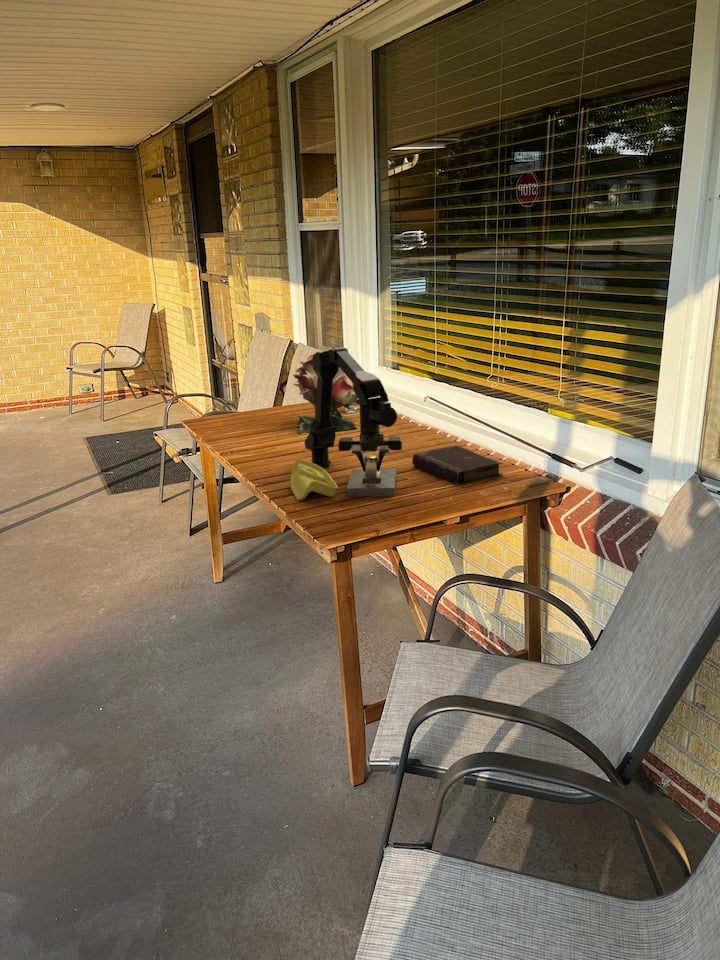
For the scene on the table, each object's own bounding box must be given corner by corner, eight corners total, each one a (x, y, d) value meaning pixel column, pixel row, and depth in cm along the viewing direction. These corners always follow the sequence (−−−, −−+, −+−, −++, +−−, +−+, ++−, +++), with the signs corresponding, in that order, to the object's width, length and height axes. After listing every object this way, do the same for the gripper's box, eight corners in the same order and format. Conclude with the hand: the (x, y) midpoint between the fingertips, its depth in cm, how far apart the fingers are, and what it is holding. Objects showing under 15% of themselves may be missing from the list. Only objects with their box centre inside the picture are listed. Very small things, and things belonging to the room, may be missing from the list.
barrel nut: (365, 474, 221) (364, 455, 219) (378, 474, 221) (378, 455, 219) (364, 478, 217) (363, 459, 216) (377, 478, 217) (377, 458, 215)
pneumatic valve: (364, 412, 323) (363, 386, 319) (338, 414, 320) (337, 388, 317) (362, 410, 328) (361, 384, 324) (336, 412, 326) (335, 385, 322)
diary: (456, 487, 220) (456, 471, 218) (412, 467, 241) (411, 453, 239) (505, 476, 228) (505, 461, 227) (458, 458, 249) (458, 444, 248)
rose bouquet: (370, 428, 295) (367, 354, 286) (300, 436, 286) (296, 360, 277) (349, 415, 318) (346, 346, 309) (284, 423, 309) (279, 352, 300)
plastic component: (340, 489, 214) (309, 479, 209) (329, 512, 215) (298, 502, 211) (322, 466, 232) (293, 456, 227) (313, 487, 233) (284, 477, 229)
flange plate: (352, 476, 233) (352, 468, 232) (396, 475, 232) (396, 467, 231) (346, 496, 214) (346, 487, 213) (394, 496, 213) (394, 487, 212)
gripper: (335, 427, 207) (337, 479, 212) (400, 426, 205) (401, 479, 210) (339, 419, 218) (341, 468, 222) (401, 417, 216) (402, 468, 221)
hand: (371, 471), depth 219 cm, fingers closed on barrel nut, 4 cm apart
